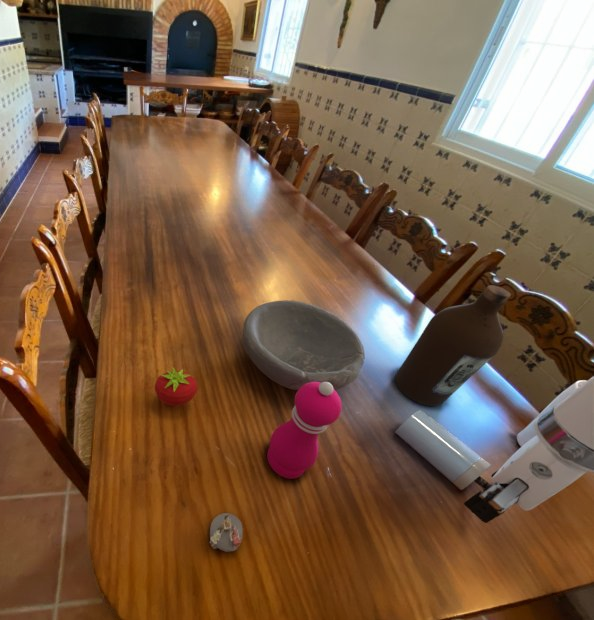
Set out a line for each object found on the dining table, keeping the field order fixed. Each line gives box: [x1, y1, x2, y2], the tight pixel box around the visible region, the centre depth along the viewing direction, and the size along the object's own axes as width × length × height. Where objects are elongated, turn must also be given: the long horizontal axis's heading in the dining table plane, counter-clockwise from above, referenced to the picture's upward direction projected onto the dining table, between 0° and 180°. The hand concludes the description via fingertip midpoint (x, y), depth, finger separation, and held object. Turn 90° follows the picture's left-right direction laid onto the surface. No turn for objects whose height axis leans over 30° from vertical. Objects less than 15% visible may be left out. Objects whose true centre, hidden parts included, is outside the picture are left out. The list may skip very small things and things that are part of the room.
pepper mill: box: [266, 382, 343, 480], centre depth 53 cm, size 7×7×20 cm
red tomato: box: [154, 366, 198, 407], centre depth 63 cm, size 6×8×10 cm
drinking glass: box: [516, 379, 588, 448], centre depth 60 cm, size 7×7×15 cm
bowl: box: [242, 299, 366, 391], centre depth 72 cm, size 23×22×10 cm
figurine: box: [209, 512, 243, 553], centre depth 48 cm, size 5×4×6 cm
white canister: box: [395, 409, 501, 497], centre depth 58 cm, size 6×6×16 cm
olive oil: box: [394, 284, 512, 407], centre depth 65 cm, size 11×11×25 cm
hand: (488, 497), depth 55 cm, fingers open, 8 cm apart
